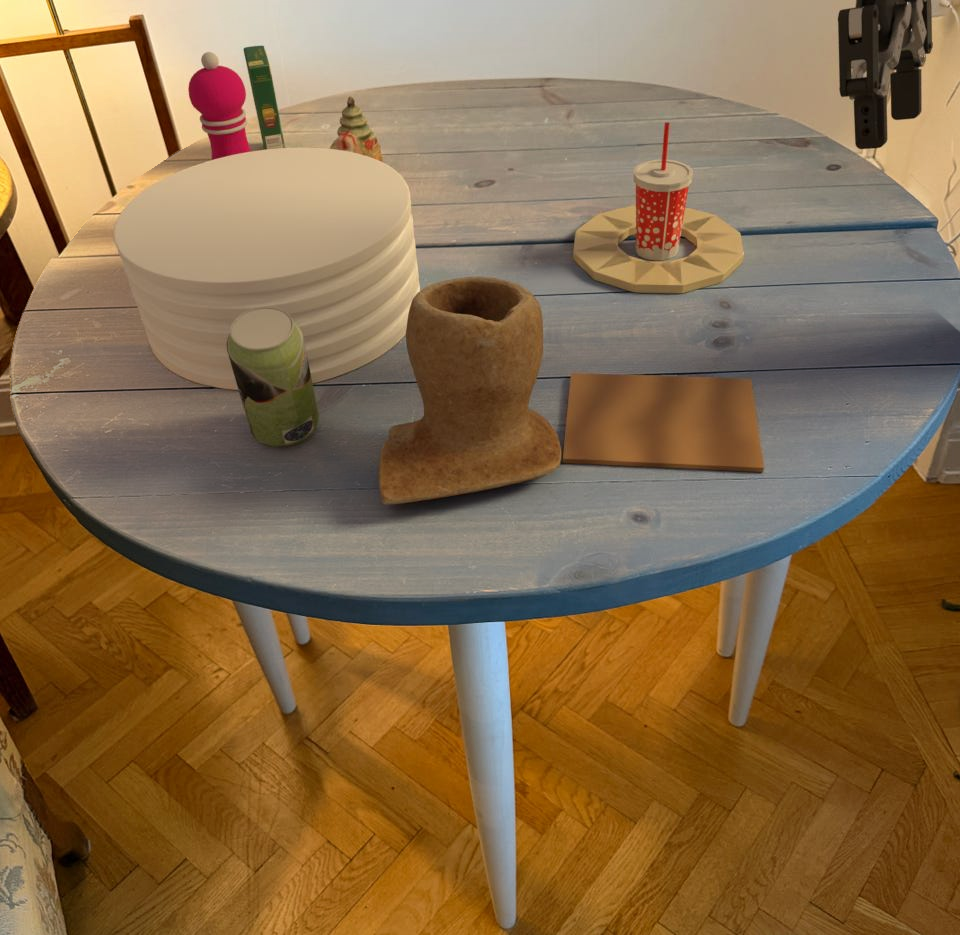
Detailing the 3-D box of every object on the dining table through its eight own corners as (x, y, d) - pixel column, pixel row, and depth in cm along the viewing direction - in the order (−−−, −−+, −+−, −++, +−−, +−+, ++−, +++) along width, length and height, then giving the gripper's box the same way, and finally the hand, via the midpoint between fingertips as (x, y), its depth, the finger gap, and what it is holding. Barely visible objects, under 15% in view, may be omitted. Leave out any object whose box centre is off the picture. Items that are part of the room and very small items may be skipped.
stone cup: (537, 401, 83) (534, 249, 73) (574, 489, 74) (577, 329, 64) (367, 430, 81) (342, 277, 71) (385, 523, 72) (358, 364, 62)
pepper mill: (207, 227, 111) (160, 54, 98) (258, 207, 115) (220, 37, 102) (237, 247, 107) (193, 69, 94) (290, 226, 111) (255, 50, 97)
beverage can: (307, 401, 84) (281, 285, 76) (336, 445, 79) (313, 326, 71) (240, 424, 82) (207, 307, 74) (266, 471, 77) (234, 352, 69)
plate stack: (98, 380, 88) (56, 274, 81) (212, 239, 109) (187, 144, 101) (382, 400, 84) (365, 289, 76) (445, 249, 104) (437, 150, 97)
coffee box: (289, 164, 124) (270, 62, 116) (268, 167, 124) (246, 66, 115) (283, 142, 130) (264, 43, 121) (263, 145, 130) (242, 46, 121)
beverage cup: (678, 234, 104) (690, 109, 95) (691, 261, 100) (705, 132, 90) (623, 239, 104) (630, 114, 95) (634, 266, 99) (642, 137, 90)
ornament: (371, 191, 117) (360, 111, 110) (324, 190, 118) (311, 110, 111) (387, 164, 122) (378, 87, 116) (342, 163, 123) (331, 87, 117)
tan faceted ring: (735, 213, 107) (736, 205, 107) (748, 295, 94) (749, 286, 93) (578, 211, 110) (578, 203, 109) (569, 291, 96) (569, 282, 96)
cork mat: (750, 383, 83) (751, 378, 83) (763, 472, 74) (764, 467, 74) (570, 376, 85) (571, 372, 85) (562, 463, 76) (562, 458, 76)
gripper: (908, -97, 60) (911, 155, 68) (968, -121, 69) (965, 104, 77) (795, -71, 65) (809, 161, 73) (865, -97, 74) (871, 113, 82)
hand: (889, 132), depth 75 cm, fingers open, 8 cm apart
